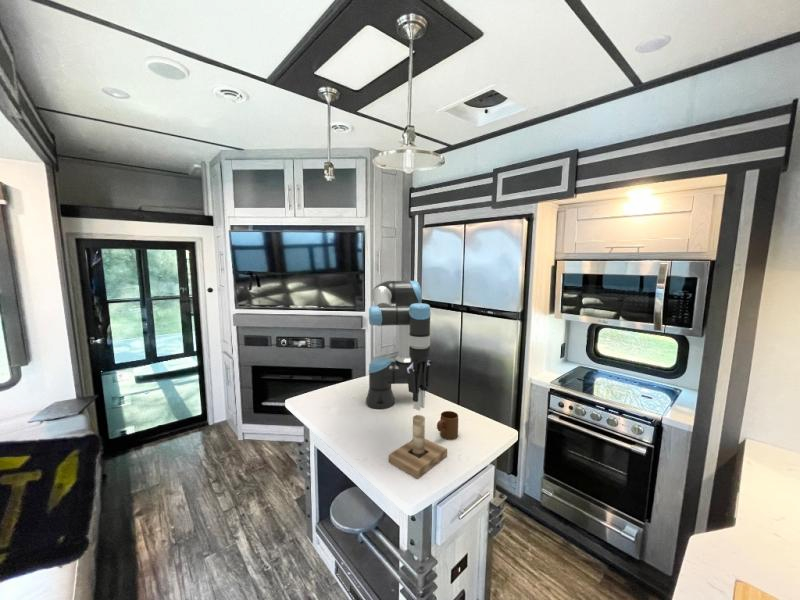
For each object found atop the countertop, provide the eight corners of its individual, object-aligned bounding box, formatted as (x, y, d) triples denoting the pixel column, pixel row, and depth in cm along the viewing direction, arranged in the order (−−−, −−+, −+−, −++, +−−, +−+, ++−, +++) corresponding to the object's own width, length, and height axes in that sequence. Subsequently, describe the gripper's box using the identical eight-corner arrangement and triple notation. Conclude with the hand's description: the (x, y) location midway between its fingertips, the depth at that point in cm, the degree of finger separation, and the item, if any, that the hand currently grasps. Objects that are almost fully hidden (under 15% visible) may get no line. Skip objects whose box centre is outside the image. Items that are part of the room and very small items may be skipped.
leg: (417, 452, 128) (417, 413, 126) (426, 457, 125) (427, 417, 123) (409, 458, 124) (410, 418, 122) (419, 463, 121) (419, 422, 119)
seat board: (418, 442, 136) (418, 435, 135) (447, 456, 126) (447, 448, 126) (388, 462, 123) (388, 454, 122) (417, 479, 113) (417, 471, 113)
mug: (444, 446, 133) (445, 424, 132) (430, 439, 138) (430, 418, 137) (461, 435, 142) (462, 414, 140) (447, 429, 147) (447, 409, 146)
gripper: (423, 340, 127) (423, 398, 130) (398, 348, 116) (398, 411, 119) (439, 344, 122) (438, 404, 125) (414, 352, 111) (413, 418, 114)
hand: (418, 407), depth 122 cm, fingers open, 2 cm apart
